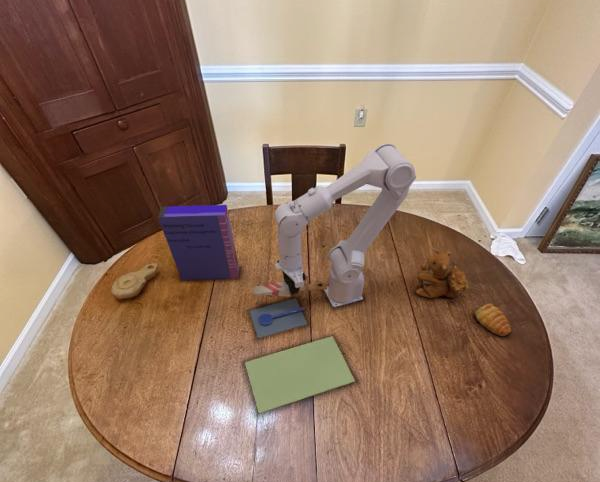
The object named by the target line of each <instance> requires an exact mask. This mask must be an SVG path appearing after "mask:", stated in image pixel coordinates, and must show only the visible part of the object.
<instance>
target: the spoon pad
mask: <svg viewBox="0 0 600 482" xmlns="http://www.w3.org/2000/svg"><path fill="white" fill-rule="evenodd" d="M298 308H301V306H300V304H299V302H298V300H297V298H291V299H288V300H284V301H280V302H277V303H273V304H269V305H265V306H262V307H258V308H254V309H251V310H249V314H250V317H251V321H252V323H253V326H254V330H255V334H256V336H257V338H258V339H261V338H264V337H267V336H271V335H274V334H278V333H281V332H285V331H288V330H291V329H296V328H299V327H303V326H307V325H308V322H307V320H306V318H305V315H304V313H303V311H301V312H297V313H294V314H290V315H286V316H283V317H279V318H276V319H273V322H272V324H270V325H269V326H262V325H260V324H259V321H258V318H259V316H260V315H261V314H264V313H268V314H270V315H272V316H273V315H277V314H280V313H284V312H288V311H291V310H295V309H298Z"/></svg>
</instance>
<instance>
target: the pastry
mask: <svg viewBox="0 0 600 482" xmlns="http://www.w3.org/2000/svg"><path fill="white" fill-rule="evenodd" d="M474 315H475V318H476V321H477V322H479V324H480V325H482V327H484V328H486V329H487V330H488V331H489V332H490V333H493V334H495V335H498V336H499V337H505V336H507V335H509V334H510V333H511V332H512V327H511V325H510V322H509V321H508V318H507V316H505V314H504V312H503V311H501V310H500V308H499V307H498V306H494V305H493V304H492V303H487V304H484V305H482V306H481V307H479V308H478V309H477V310H476V311H475V312H474Z"/></svg>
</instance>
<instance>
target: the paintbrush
mask: <svg viewBox="0 0 600 482" xmlns="http://www.w3.org/2000/svg"><path fill="white" fill-rule="evenodd" d="M327 287H328V283H327V282H320V283H304V286H302V287H300V289H299V292H307V291H308V292H309V291H324V290H326V289H328V288H327ZM253 288H254V289H253V291H254V295H260V296H261V295H262V296H263V295H264V296H275V297H276V296H277V297H288V298H290V297H292V296H291V293H290V291H289V287H288V285H287V284H286V283H285V281H284V280H282V281H277V282H273V283H272V282H271V283H267V284H262V285H261V284H260V285H257V286H253Z"/></svg>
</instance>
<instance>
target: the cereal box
mask: <svg viewBox="0 0 600 482" xmlns="http://www.w3.org/2000/svg"><path fill="white" fill-rule="evenodd" d="M157 219H158V222H159V224H160V226H161V229H162V232H163V234H164V237H165V240H166V243H167V245H168V248H169V250H170V253H171V256H172V259H173V261H174V264H175V267H176V270H177V271H178V274H179V277H180V281H205V280H207V281H208V280H226V279H238V277H239V271H240V266H239V265H240V264H239V260H238V256H237V251H236V245H235V240H234V236H233V235H234V234H233V230H232V224H231V220H230V214H229V209H228V205H227V204H204V205H203V204H202V205H198V204H197V205H168V206H167V205H166V206H161V208H160V210H159V212H158V216H157Z"/></svg>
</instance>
